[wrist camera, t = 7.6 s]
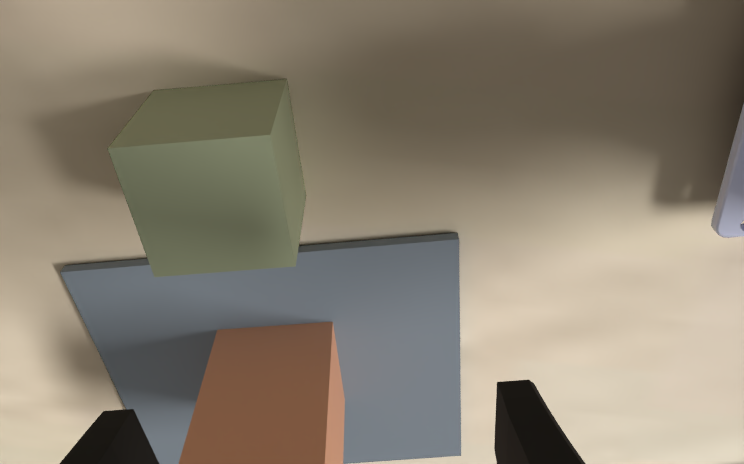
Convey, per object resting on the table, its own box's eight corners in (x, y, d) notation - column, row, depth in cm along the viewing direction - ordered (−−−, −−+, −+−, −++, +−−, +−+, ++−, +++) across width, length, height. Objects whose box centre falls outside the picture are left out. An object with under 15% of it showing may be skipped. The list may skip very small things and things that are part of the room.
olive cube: (286, 78, 18) (270, 134, 14) (306, 194, 20) (295, 266, 17) (154, 89, 18) (107, 148, 14) (188, 203, 20) (154, 277, 17)
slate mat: (457, 232, 21) (458, 239, 20) (459, 448, 27) (460, 455, 27) (64, 265, 21) (60, 272, 21) (161, 468, 28) (158, 476, 27)
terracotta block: (332, 321, 22) (324, 476, 17) (344, 399, 25) (340, 557, 19) (217, 329, 22) (171, 485, 17) (240, 406, 25) (207, 565, 20)
